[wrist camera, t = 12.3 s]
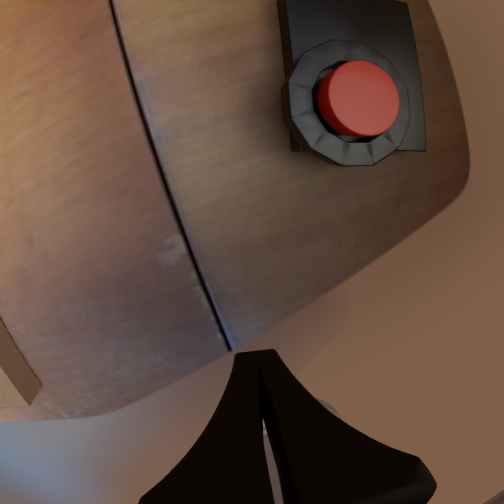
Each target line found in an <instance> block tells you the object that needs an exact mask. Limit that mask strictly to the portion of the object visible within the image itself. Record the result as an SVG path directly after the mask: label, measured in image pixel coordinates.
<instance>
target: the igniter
mask: <svg viewBox="0 0 504 504" xmlns="http://www.w3.org/2000/svg"><path fill="white" fill-rule="evenodd" d="M317 102H318V107H319V111H320V113H321V115H322V117H323V119H324V120H325V121H326V123H327V124H328V125H329V126H330V127H331V128H332V129H334V130H335V131H337V132H338V133H340V134H343V135H345V136H350V137H362V136H375V135H379V134H382V133H384V132H385V131H387V130H388V129H389V128H390V127H391V126H392V125H393V123H394V122H395V120H396V118H397V115H398V112H399V95H398V91H397V89H396V86H395V84H394V82H393V81H392V79H391V78H390V76H389V75H388V74H387V73H386V72H385V71H384V70H383V69H381V68H380V67H378V66H377V65H375V64H373V63H370V62H367V61H361V60H355V61H349V62H346V63H344V64H342V65H341V66H339V67H338V68H336V69H335V70H333V71H331V72H330V73H328V74H327V75H326V76H325V77H324V78H323V80H322V81H321V83H320V85H319V88H318V93H317Z"/></svg>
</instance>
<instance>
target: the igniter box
mask: <svg viewBox="0 0 504 504" xmlns="http://www.w3.org/2000/svg"><path fill="white" fill-rule="evenodd" d="M277 6H278V14H279V23H280V31H281V40H282V50H283V59H284V69H285V81H284V83H283V85H282V87H281V97H282V109H283V120H284V123H285V124H286V126H287V127H288V129H289V130H290V140H291V151H300V152H301V151H306V152H308V153H310V154H312V155H314V156H316V157H318V158H320V159H321V160H323V161H325V162H327V163H329V164H332V165H337V166H373V165H375V164H377V163H378V162H380V161H381V160H383V159H384V158H386V157H387V156H389V155H390V154H392V153H393V152H394V151H420V152H425V151H426V137H425V119H424V106H423V95H422V86H421V77H420V70H419V63H418V56H417V50H416V44H415V38H414V33H413V28H412V23H411V18H410V13H409V9H408V5H407V3H405V2H401V1H397V0H277ZM355 60H361V61H367V62H370V63H373V64H375V65H377V66H378V67H380V68H381V69H383V70H384V71H385V72H386V73H387V74H388V75H389V76H390V78H391V79H392V81H393V82H394V84H395V86H396V89H397V91H398V95H399V112H398V115H397V118H396V120H395V122H394V123H393V125H392V126H391V127H390V128H389V129H388V130H387V131H385V132H384V133H382V134H379V135H375V136H362V137H350V136H345V135H343V134H340V133H338V132H337V131H335V130H334V129H332V128H331V127H330V126H329V125H328V124H327V123H326V121H325V120H324V119H323V117H322V115H321V113H320V111H319V107H318V102H317V93H318V88H319V85H320V83H321V81H322V80H323V78H324V77H325V76H326V75H327V74H328V73H330V72H331V71H333V70H335V69H336V68H338V67H339V66H341V65H342V64H344V63H346V62H349V61H355Z"/></svg>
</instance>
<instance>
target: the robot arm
mask: <svg viewBox="0 0 504 504" xmlns="http://www.w3.org/2000/svg"><path fill="white" fill-rule="evenodd" d="M263 420H264V424H265V427H264V428H263ZM436 488H437V483H436V482H435V480H434V478H433V476H432V474H431V473H430V471H429V470H428V468H427V467H426V466H425V464H424V463H423V462H422V461H421V459H420V458H419V457H417V456H414V455H411V454H408V453H405V452H402V451H400V450H397V449H394V448H391V447H389V446H387V445H384V444H382V443H380V442H378V441H376V440H374V439H372V438H370V437H368V436H367V435H365V434H363V433H362V432H360V431H358V430H356V429H355V428H353V427H351V426H350V425H348V424H347V423H345V422H344V421H342V420H341V419H340V418H338V417H337V416H336V415H334V414H333V413H332V412H330V411H329V410H328V409H327V408H326V407H324V406H323V405H322V404H321V403H320V402H319V401H318V400H317V399H315V398H314V397H313V396H312V395H311V394H310V393H309V392H308V391H307V390H306V389H305V388H304V387H303V385H302V384H301V383H300V382H299V381H298V380H297V379H296V378H295V376H294V375H293V374H292V373H291V372H290V370H289V369H288V368H287V366H286V365H285V364H284V362H283V361H282V359H281V358H280V356H279V355H278V353H277V351H276V350H274V349H267V350H259V351H250V352H241V353H237V354H236V355H235V356H234V364H233V368H232V372H231V375H230V378H229V381H228V383H227V386H226V389H225V391H224V394H223V396H222V398H221V400H220V402H219V404H218V406H217V408H216V411H215V412H214V414H213V416H212V418H211V420H210V421H209V423H208V425H207V426H206V428H205V430H204V431H203V432H202V434H201V435H200V437H199V438H198V440H197V441H196V442H195V444H194V445H193V446H192V448H191V449H190V450H189V451H188V453H187V454H186V455H185V456H184V457H183V458H182V460H181V461H180V462H179V463H178V464H177V465H176V466H175V467H174V468H173V469H172V470H171V471H170V472H169V474H168V475H166V476H165V477H164V478H163V479H162V480H161V481H160V482H159V483H158V484H156V485H155V486H154V487H153V488H152V489H151V490H149V491H148V492H147V493H146V494H144V495H143V496H142V497H141V498H140V500H139V503H138V504H427V502H428V501H429V500H430V499H431V497H432V496H433V494H434V492H435V490H436ZM483 504H504V490H503V491H502V492H500V493H499V494H497V495H496V496H494V497H493V498H491V499H490V500H488V501H487V502H485V503H483Z"/></svg>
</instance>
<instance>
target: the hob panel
mask: <svg viewBox="0 0 504 504" xmlns="http://www.w3.org/2000/svg"><path fill="white" fill-rule="evenodd" d="M41 387H42V385H41V384H40V382H39V381H38V379H37V378H36V376H35V375H34V373H33V372H32V370H31V369H30V367H29V366H28V364H27V363H26V361H25V360H24V358H23V357H22V355H21V353H20V352H19V350H18V349H17V347H16V345H15V344H14V342H13V340H12V338H11V337H10V335H9V333H8V331H7V330H6V328H5V326H4V324H3V322H2V321H1V319H0V408H19V407H30V405H31V403H32V402H33V400H34V398H35V397H36V395H37V393H38V392H39V390H40V388H41Z"/></svg>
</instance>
